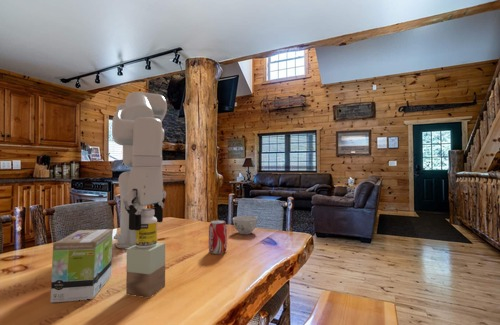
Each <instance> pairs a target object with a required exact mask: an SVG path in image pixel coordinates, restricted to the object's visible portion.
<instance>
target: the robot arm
mask: <svg viewBox="0 0 500 325" xmlns="http://www.w3.org/2000/svg"><path fill="white" fill-rule="evenodd" d="M125 97H126V98H125V101H124V102H125V103H124V102H122V103H119V104H118V105H117V106H116V108H115V110H116V111H115V114H114V115H113V117H112V122H111V127H112V128H111V133H112V134H111V135H112V139H113V141H114V143H115V144H117V145H118V146H119V145H120V146H122V164H123V165H124V166H125V167H127V168H130V170H127V171H124V172H123V171H122V173H120V174H119V177H118V188H119V198H120V221H119V222H120V227H119V228H120V230H119V231H120V233H115V235H114V236H113V240H117V242H116V243H115V246H116V248H118V249H122V250H123V249H124V250H127V248H129V247H132V246H134V245H136V230H141V214H139V213H140V211H141V209H146V206H150V205H152V208H151V209H154V210H155V214H154V217H156V218H157V223H163V221H164V219H163V218H164V208H165V202H166V197H167V191H166V190H164V179H163V142H164V140H165V129H164V128H163V123H162V122H163V120H164V118H165V117H166V115H167V109H168V104H167V100H166V99H165V97H164V96H163V95H162V94H160V93H152V92H151V93H150V92H145V91H132V92H130V93H128V95H126V96H125Z"/></svg>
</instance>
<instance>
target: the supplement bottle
mask: <svg viewBox="0 0 500 325" xmlns="http://www.w3.org/2000/svg"><path fill="white" fill-rule="evenodd" d="M139 214H141V230H136V247H138V248H150V247H154V246H155V245H156V244H157V243H158V222H157V218H156V217H154V214H155V210H154V209H152V208H145V209H141V211H140V213H139Z"/></svg>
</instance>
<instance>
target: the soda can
mask: <svg viewBox="0 0 500 325" xmlns="http://www.w3.org/2000/svg"><path fill="white" fill-rule="evenodd" d="M227 237H228V226H227V224H226V221H225V220H223V219H222V220H221V219H216V220H215V219H214V220H211V221H210V224H209V226H208V251H209V252H210V253H211V254H213V255H222V254H224V253H225V252H226V251H227V248H228V238H227Z"/></svg>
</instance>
